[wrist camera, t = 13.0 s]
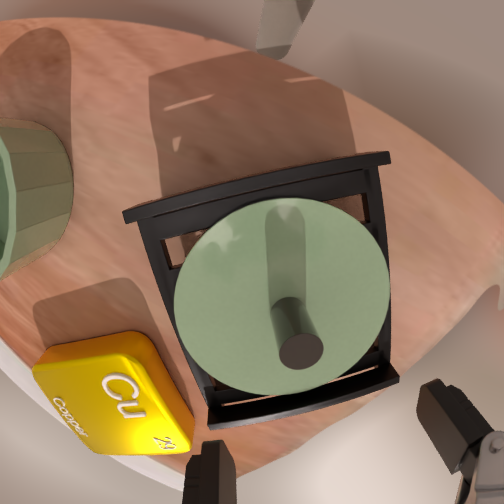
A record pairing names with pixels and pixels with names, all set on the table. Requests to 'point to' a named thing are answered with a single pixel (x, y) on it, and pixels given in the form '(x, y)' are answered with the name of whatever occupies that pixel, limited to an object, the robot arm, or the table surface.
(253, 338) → the lid
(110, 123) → the table surface
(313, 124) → the table surface
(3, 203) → the pot
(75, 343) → the element tile
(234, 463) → the robot arm
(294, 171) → the rack
